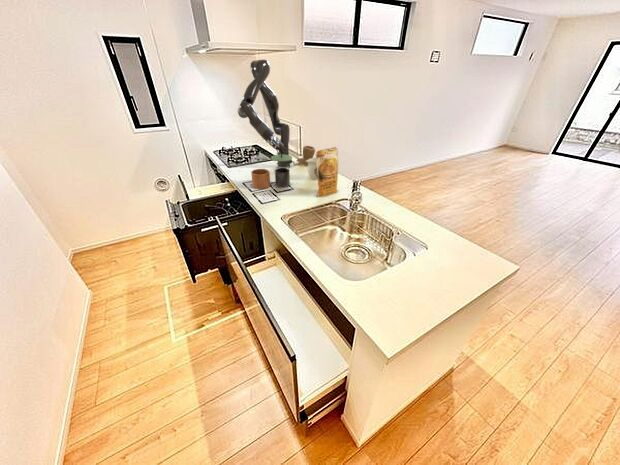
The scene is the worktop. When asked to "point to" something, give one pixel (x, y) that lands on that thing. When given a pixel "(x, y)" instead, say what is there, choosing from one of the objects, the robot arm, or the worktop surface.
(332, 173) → the pancake mix bag
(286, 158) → the lid
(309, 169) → the pitcher
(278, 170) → the cup
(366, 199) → the worktop surface
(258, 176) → the clay pot
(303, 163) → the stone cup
